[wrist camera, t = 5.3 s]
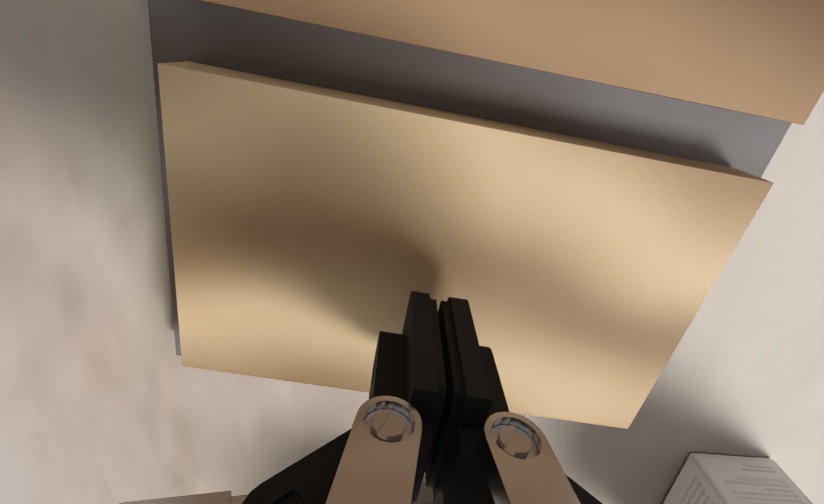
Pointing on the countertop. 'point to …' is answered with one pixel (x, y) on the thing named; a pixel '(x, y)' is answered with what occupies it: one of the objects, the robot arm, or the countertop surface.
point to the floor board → (446, 92)
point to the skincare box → (733, 482)
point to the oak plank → (433, 239)
